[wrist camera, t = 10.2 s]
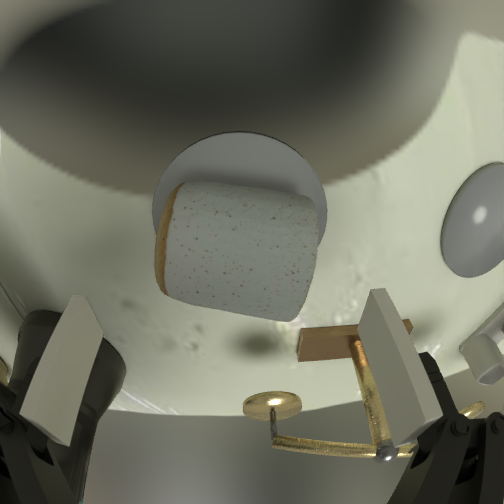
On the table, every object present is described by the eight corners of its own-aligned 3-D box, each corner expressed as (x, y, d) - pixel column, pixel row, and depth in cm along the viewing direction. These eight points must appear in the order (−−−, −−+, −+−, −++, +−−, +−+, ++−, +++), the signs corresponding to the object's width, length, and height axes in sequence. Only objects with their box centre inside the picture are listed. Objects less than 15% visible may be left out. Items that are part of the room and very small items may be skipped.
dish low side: (169, 282, 24) (167, 289, 23) (144, 137, 17) (140, 140, 16) (314, 280, 24) (316, 287, 23) (332, 133, 17) (335, 136, 16)
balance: (243, 357, 30) (244, 505, 17) (242, 326, 27) (241, 499, 14) (432, 339, 30) (476, 450, 17) (448, 310, 27) (505, 429, 14)
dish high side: (424, 275, 24) (428, 281, 23) (461, 152, 17) (467, 155, 16) (499, 270, 24) (502, 274, 23) (534, 173, 17) (539, 176, 17)
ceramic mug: (180, 160, 17) (143, 219, 11) (306, 177, 18) (335, 243, 12) (177, 284, 23) (158, 361, 17) (274, 295, 24) (281, 374, 18)
